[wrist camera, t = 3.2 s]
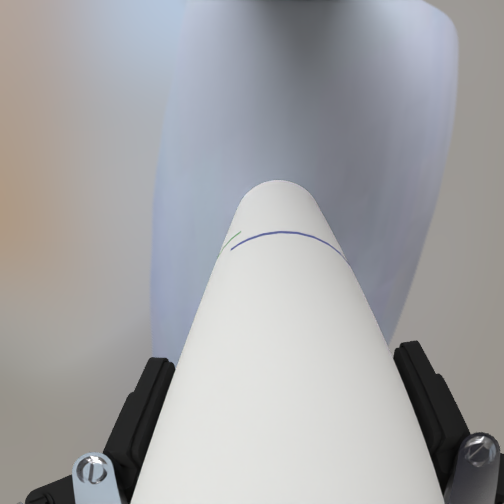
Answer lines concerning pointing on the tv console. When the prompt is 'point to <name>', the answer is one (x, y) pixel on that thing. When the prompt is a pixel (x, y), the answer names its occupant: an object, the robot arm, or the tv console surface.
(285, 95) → the tv console surface
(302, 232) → the cylindrical container
